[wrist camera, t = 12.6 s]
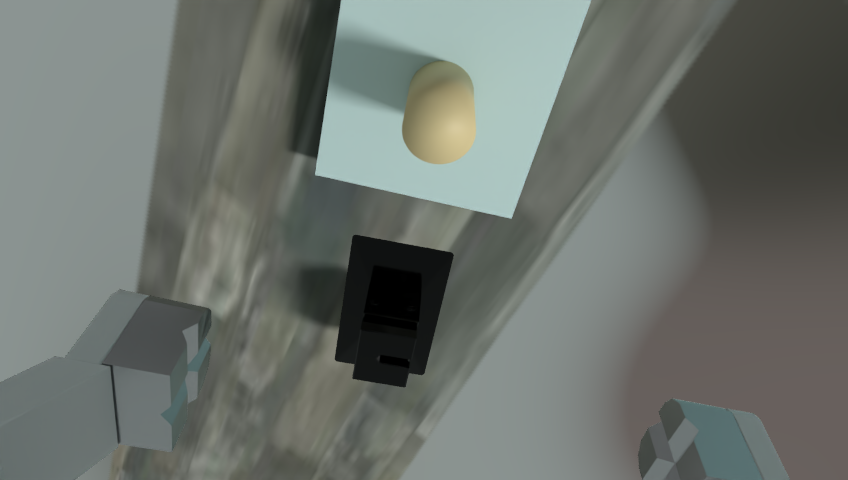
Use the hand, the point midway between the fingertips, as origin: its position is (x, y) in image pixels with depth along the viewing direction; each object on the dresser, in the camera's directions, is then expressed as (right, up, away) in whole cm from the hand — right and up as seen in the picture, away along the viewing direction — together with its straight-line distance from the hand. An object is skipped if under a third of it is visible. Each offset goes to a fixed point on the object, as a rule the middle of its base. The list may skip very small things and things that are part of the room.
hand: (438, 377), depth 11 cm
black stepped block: (-2, -1, +25) cm, 25 cm away
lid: (+1, +10, +17) cm, 20 cm away
